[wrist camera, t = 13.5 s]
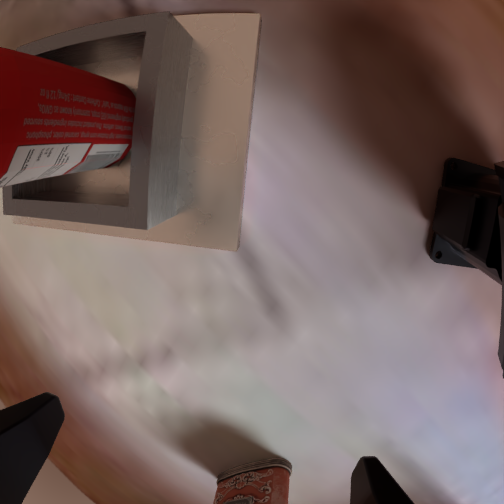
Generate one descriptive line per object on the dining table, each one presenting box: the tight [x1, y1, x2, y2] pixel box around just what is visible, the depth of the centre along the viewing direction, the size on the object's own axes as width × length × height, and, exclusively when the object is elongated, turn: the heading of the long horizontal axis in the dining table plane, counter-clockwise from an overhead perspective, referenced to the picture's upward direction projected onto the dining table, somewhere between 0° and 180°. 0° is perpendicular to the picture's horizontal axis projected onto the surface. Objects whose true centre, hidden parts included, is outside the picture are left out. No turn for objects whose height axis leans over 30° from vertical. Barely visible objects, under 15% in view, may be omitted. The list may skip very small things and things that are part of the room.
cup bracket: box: [3, 12, 262, 252], centre depth 16 cm, size 18×14×5 cm
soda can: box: [0, 47, 136, 187], centre depth 11 cm, size 6×6×12 cm
